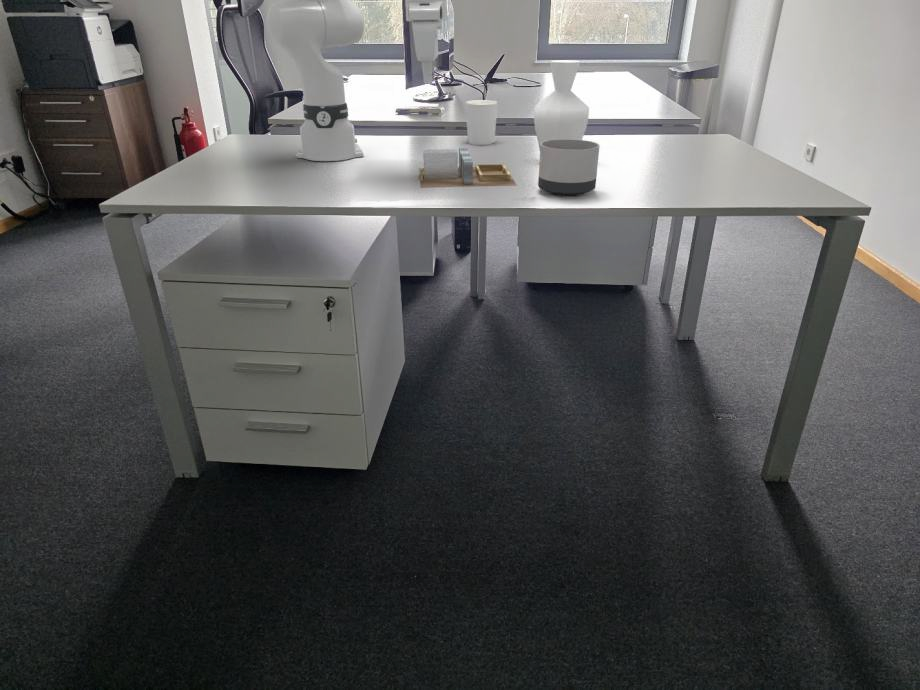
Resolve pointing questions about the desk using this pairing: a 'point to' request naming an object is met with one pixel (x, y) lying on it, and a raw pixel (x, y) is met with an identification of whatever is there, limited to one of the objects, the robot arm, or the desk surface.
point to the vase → (561, 107)
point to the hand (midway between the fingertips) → (429, 82)
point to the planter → (568, 167)
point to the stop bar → (440, 163)
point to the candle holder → (481, 121)
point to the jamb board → (459, 181)
